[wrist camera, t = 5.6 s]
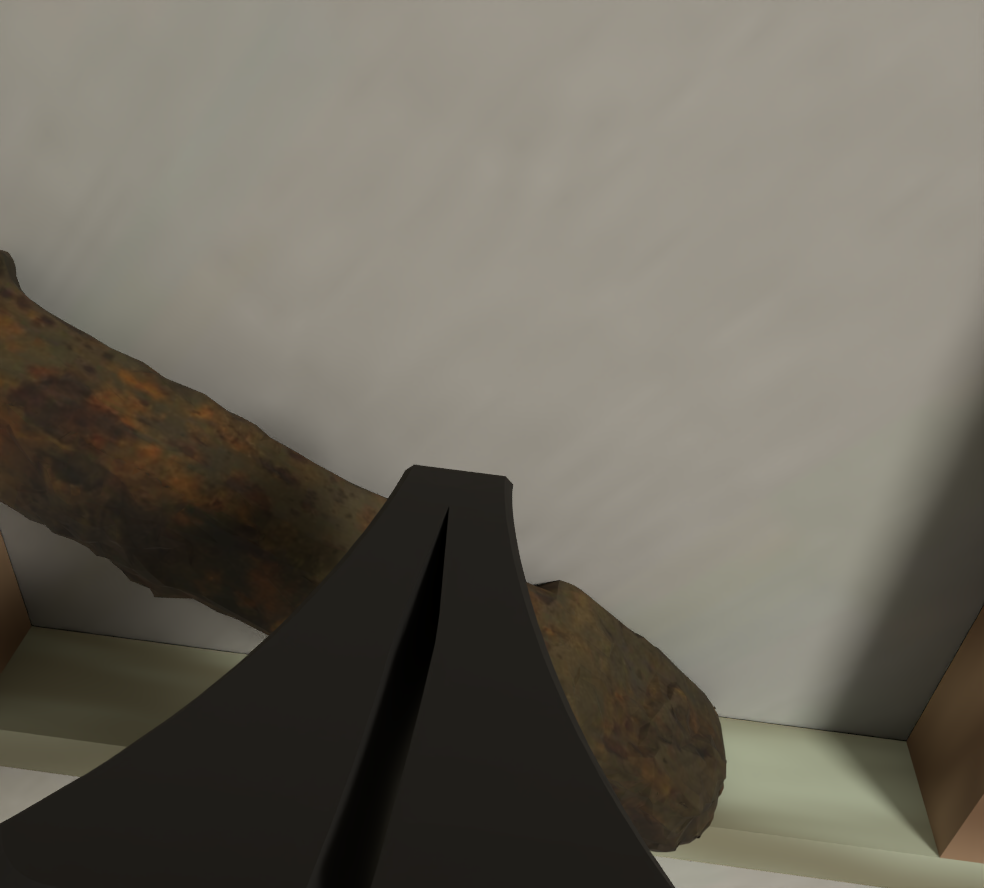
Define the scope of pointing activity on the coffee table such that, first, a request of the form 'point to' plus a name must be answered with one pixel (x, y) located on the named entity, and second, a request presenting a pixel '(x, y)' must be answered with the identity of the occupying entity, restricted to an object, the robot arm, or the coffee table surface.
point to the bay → (727, 841)
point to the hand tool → (297, 543)
